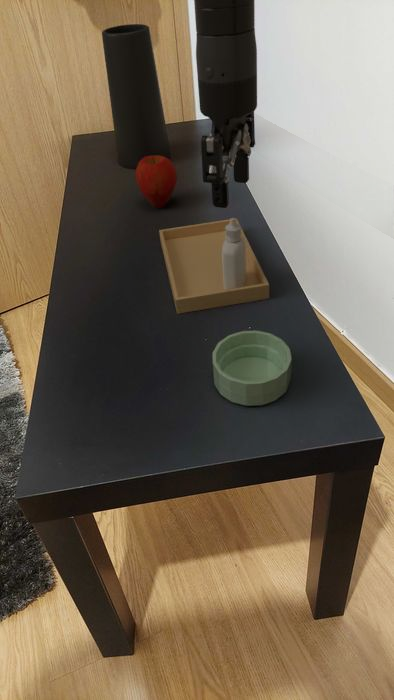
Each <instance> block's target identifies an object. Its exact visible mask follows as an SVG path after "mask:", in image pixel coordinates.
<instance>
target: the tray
mask: <svg viewBox="0 0 394 700" xmlns="http://www.w3.org/2000/svg"><path fill="white" fill-rule="evenodd" d="M234 218H235V221H236V224H239V225H240V226H241V224H240V222H239V220H238V218H236V217H234ZM230 219H231V218H229V219H223V220H217V221H210V222H203V223H197V224H189V225H183V226H177V227H171V228H170V227H169V228H165V229H158V233H159V240H160V246H161V250H162V254H163V258H164V263H165V267H166V273H167V276H168V281H169V284H170V285H169V286H170V290H171V294H172V298H173V302H174V306H175V310H176V314H177V315H179V314H185V313H191V312H197V311H202V310H209V309H215V308H222V307H227V306H234V305H240V304H247V303H252V302H258V301H262V300H263V301H264V300H269V299H270V283H269V281H268V279H267V277H266V276H265V274H264V271H263V269H262V267H261V265H260V263H259V261H258V259H257V257H256V255H255V253H254V251H253V249H252V247H251V245H250V243H249V241H248V239H247V236H246V235H245V232H244V231H243V228H242V227H241V236H242V237H243V238H244V240H245V255H246V282H245V285H244V287H239V288H233V289H227V290H224V282H223V263H222V246H223V243H224V241H225V240H226V237H225V227H226V226H227V225H228V224H230Z"/></svg>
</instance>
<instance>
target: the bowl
mask: <svg viewBox="0 0 394 700" xmlns="http://www.w3.org/2000/svg"><path fill="white" fill-rule="evenodd" d="M292 360H293V358H292V353H291V348H290V347H289V346H288V344H287V343H286V342H285V341H284V340H283V339H281V338H280V337H278V336H277V335H274V334H272V333H271V332H266V331H261V330H242V331H238V332H234V333H231V334H229V335H227V336H226V337H224V338H223V339H222V340H220V341H218V343H217V344H216V346H215V348H214V349H213V351H212V369H213V371H212V372H213V383H214V387H215V388H216V390H217V391H218V392H219V394H220V395H221V396H222V397H224V398H225V399H226V400H228V401H229V402H231V403H235V404H237V405H242V406H246V407H250V406H251V407H252V406H264V405H267V404H270V403H272V402H275V401H278V399H279V398H281V397H282V396H283V395H284V394H285V393H286V392H287V390H288V388H289V386H290V383H291V377H292V376H291V375H292Z"/></svg>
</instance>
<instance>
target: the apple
mask: <svg viewBox="0 0 394 700" xmlns="http://www.w3.org/2000/svg"><path fill="white" fill-rule="evenodd" d="M135 179H136V183H137V186H138V189H139V190H140V192H141V194H142V195H143V197H145V199H146V200H147V202H149V203H150V205H151V206H152V207H155V208H157V209H158V208H160V209H161V208H164V207H165V206H166V205H167V204H168V202H169V200H170V199H171V197H172V194H173V193H174V191H175V187H176V185H177V181H178V173H177V169H176V167H175V165H174V163H173V162H172V161H171V159H168V158H166V157H163V156H159V155H154V156H147V157H144V158H143V159H142V160H140V162H139V164H138V166H137V168H136V169H135Z"/></svg>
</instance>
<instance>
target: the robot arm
mask: <svg viewBox="0 0 394 700" xmlns="http://www.w3.org/2000/svg"><path fill="white" fill-rule="evenodd" d="M193 2H194V18H195V19H194V20H195V32H196V40H195V41H196V43H195V47H196V48H195V60H196V62H195V63H196V73H197V86H198V88H197V89H198V102H199V103H198V104H199V112H200V113H201V115H203V116H204V117H206V118H208V119H210V121H211V130H210V135H204V134H203V135H202V136H201V138H200V150H201V152H200V153H201V168H202V182H203V183H205V184H211V195H212V196H211V197H212V198H211V199H212V206H213V207H215V208H219V209H227V208H228V206H229V205H230V193H229V192H230V191H229V188H230V187H229V177H230V171H231V167H233V181H234V182H235V183H239V184H246V183H248V181H249V180H250V157H251V154H252V149H253V148H255V145H256V133H255V132H256V131H255V129H256V128H255V111H256V109H257V108H258V45H257V39H256V28H255V27H256V25H255V21H256V19H255V18H256V17H255V15H256V14H255V7H256V6H255V0H193Z"/></svg>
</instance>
